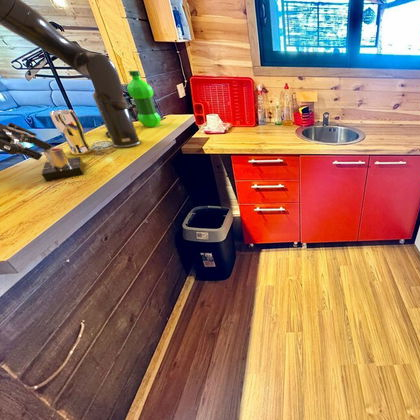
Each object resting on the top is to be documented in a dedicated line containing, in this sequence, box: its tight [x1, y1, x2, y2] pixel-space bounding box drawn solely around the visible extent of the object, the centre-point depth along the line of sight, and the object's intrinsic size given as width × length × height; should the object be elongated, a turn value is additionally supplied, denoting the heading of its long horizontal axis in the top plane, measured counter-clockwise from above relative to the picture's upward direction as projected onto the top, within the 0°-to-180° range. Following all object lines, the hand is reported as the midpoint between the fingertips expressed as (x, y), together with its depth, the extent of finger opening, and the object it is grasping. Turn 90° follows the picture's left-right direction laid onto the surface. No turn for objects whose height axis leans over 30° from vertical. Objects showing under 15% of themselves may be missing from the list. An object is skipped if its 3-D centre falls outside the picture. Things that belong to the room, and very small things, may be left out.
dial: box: [42, 147, 71, 169], centre depth 81 cm, size 4×4×6 cm
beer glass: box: [49, 109, 92, 155], centre depth 96 cm, size 7×7×15 cm
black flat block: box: [41, 156, 84, 182], centre depth 84 cm, size 11×9×3 cm
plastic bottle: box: [126, 70, 162, 128], centre depth 125 cm, size 10×10×25 cm
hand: (45, 152), depth 80 cm, fingers open, 8 cm apart
